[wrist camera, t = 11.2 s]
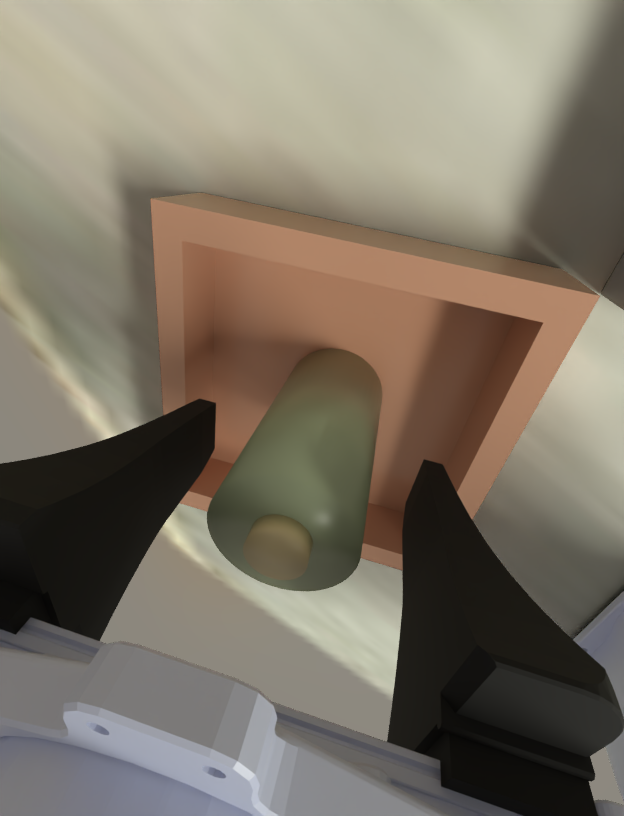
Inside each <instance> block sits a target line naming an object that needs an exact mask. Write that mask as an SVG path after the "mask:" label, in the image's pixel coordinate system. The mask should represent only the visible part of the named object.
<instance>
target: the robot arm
mask: <svg viewBox="0 0 624 816" xmlns="http://www.w3.org/2000/svg"><path fill="white" fill-rule="evenodd" d="M215 425H216V403H215V402H211V401H207V400H204V399H197V400H195V401H193V402H190V403H188V404H186V405H184V406H182V407H180V408H178V409H176V410H174V411H172V412H170V413H168V414H166V415H163V416H161V417H159V418H157V419H155V420H153V421H151V422H148V423H146V424H144V425H141V426H139V427H136V428H134V429H132V430H129V431H127V432H124V433H122V434H119V435H117V436H114V437H111V438H108V439H105V440H102V441H99V442H96V443H93V444H90V445H87V446H83V447H79V448H75V449H71V450H67V451H64V452H60V453H56V454H52V455H48V456H42V457H37V458H32V459H27V460H21V461H15V462H9V463H2V464H0V816H624V805H622V804H619V803H616V802H612V801H608V800H595V801H594V800H593V796H592V792H591V789H590V785H589V781H593V780H594V779H595V773H594V769H593V766H592V762H591V759H590V756H591V755H592V754H594V753H596V752H597V751H599V750H600V749H602V748H604V747H605V748H606V751H607V754H608V757H609V760H610V763H611V767H612V769H613V773H614V776H615V779H616V782H617V785H618V788H619V791H620V793H621V796H622V798H623V801H624V591H623V592H622V593H621V594H620V595H619V596H618V597H617V598H616V599H615V600H614V601H613V602H612V603H610V604H609V605H608V606H607V607H606V608H605V609H604V610H603V611H602V612H601V613H600V614H599V615H598V616H597V617H596V618H595V619H594V620H593V621H592V622H591V623H590V624H589V625H588V626H587V627H586V628H585V629H583V630H582V631H581V632H580V633H579V634H578V635H577V636H576V637H575V638H574V639H573V640H572V639H571V638H570V637H569V636H568V635H567V634H566V633H565V632H564V631H563V630H562V629H561V628H560V627H559V626H558V625H557V624H556V623H555V622H554V621H553V620H552V619H551V618H550V617H549V616H547V615H546V614H545V613H544V611H543V610H542V609H541V608H540V607H539V606H538V605H537V604H536V603H535V602H534V601H533V600H532V599H531V598H530V597H529V595H528V594H527V593H526V592H525V591H524V590H523V589H522V587H521V586H520V585H519V584H518V583H517V582H516V581H515V579H514V578H513V577H512V576H511V574H510V573H509V572H508V571H507V570H506V568H505V567H504V566H503V564H502V563H501V562H500V560H499V559H498V558H497V556H496V555H495V554H494V552H493V551H492V550H491V548H490V547H489V546H488V544H487V543H486V541H485V540H484V538H483V537H482V535H481V533H480V532H479V530H478V529H477V527H476V526H475V524H474V522H473V521H472V519H471V517H470V515H469V514H468V512H467V510H466V508H465V507H464V505H463V503H462V501H461V499H460V497H459V495H458V494H457V492H456V490H455V488H454V486H453V484H452V482H451V480H450V478H449V476H448V474H447V472H446V470H445V468H444V466H443V464H440V463H436V462H433V461H429V460H425V459H424V460H423V462H422V465H421V467H420V469H419V472H418V474H417V477H416V479H415V481H414V484H413V486H412V489H411V491H410V493H409V496H408V498H407V501H406V503H405V511H404V519H403V528H402V561H403V607H402V619H401V630H400V640H399V650H398V660H397V669H396V677H395V686H394V694H393V702H392V710H391V718H390V725H389V732H388V740H387V742H386V741H383V740H380V739H377V738H374V737H371V736H369V735H366V734H363V733H360V732H357V731H354V730H351V729H349V728H346V727H343V726H340V725H337V724H334V723H331V722H329V721H326V720H323V719H320V718H317V717H314V716H311V715H309V714H306V713H303V712H300V711H297V710H294V709H291V708H289V707H286V706H283V705H280V704H277V703H274V702H272V701H271V700H270V699H269V698H268V697H267V696H265V695H264V694H263V693H262V692H261V691H260V690H259V689H257V688H255V687H253V686H251V685H249V684H247V683H245V682H243V681H241V680H239V679H237V678H234V677H231V676H228V675H225V674H222V673H219V672H217V671H214V670H211V669H208V668H205V667H202V666H199V665H196V664H193V663H190V662H188V661H185V660H182V659H179V658H176V657H173V656H170V655H168V654H165V653H162V652H159V651H156V650H153V649H150V648H147V647H145V646H142V645H138V644H133V643H129V642H124V641H118V642H114V643H109V644H106V643H103V642H100V639H101V637H102V635H103V633H104V631H105V629H106V627H107V625H108V623H109V620H110V618H111V616H112V614H113V613H114V611H115V609H116V607H117V605H118V603H119V601H120V599H121V597H122V596H123V594H124V592H125V590H126V588H127V586H128V584H129V582H130V581H131V579H132V577H133V575H134V573H135V572H136V570H137V568H138V566H139V564H140V563H141V561H142V559H143V557H144V556H145V554H146V552H147V550H148V548H149V547H150V545H151V544H152V542H153V540H154V539H155V537H156V535H157V534H158V532H159V530H160V529H161V528H162V526H163V525H164V523H165V522H166V520H167V519H168V517H169V516H170V515H171V513H172V512H173V511H174V509H175V508H176V507H177V505H178V504H179V503H180V501H181V500H182V499H183V497H184V496H185V495H186V493H187V492H188V491H189V489H190V488H191V487H192V485H193V484H194V483H195V481H196V480H197V478H198V477H199V476H200V474H201V473H202V471H203V469H204V468H205V466H206V464H207V462H208V461H209V459H210V457H211V455H212V453H213V451H214V449H215Z"/></svg>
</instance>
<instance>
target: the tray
mask: <svg viewBox="0 0 624 816" xmlns="http://www.w3.org/2000/svg"><path fill="white" fill-rule="evenodd" d="M150 200H151V216H152V233H153V250H154V267H155V284H156V301H157V318H158V335H159V352H160V369H161V385H162V402H163V415H166V414H168V413H170V412H172V411H174V410H176V409H178V408H180V407H182V406H184V405H186V404H188V403H190V402H193V401H195V400H197V399H204V400H207V401H211V402H215V403H216V425H215V449H214V451H213V453H212V455H211V457H210V459H209V461H208V462H207V464H206V466H205V468H204V469H203V471H202V473H201V474H200V476H199V477H198V478H197V480H196V481H195V483H194V484H193V485H192V487H191V488H190V489H189V491H188V492H187V493H186V495H185V496H184V497H183V499H182V500H181V501H180V503H181V504H184V505H188V506H191V507H194V508H198V509H201V510H204V511H207V512H208V507H209V504H210V502H211V500H212V498H213V496H214V495H215V493H216V492H217V490H218V488H219V487H220V485H221V484H222V482H223V480H224V479H225V477H226V476H227V474H228V473H229V471H230V469H231V468H232V466H233V465H234V463H235V461H236V460H237V458H238V457H239V455H240V453H241V452H242V450H243V449H244V447H245V446H246V444H247V442H248V441H249V439H250V438H251V436H252V434H253V433H254V431H255V430H256V428H257V426H258V425H259V423H260V422H261V420H262V418H263V417H264V415H265V414H266V412H267V411H268V409H269V407H270V406H271V404H272V403H273V401H274V399H275V398H276V396H277V395H278V393H279V391H280V390H281V388H282V387H283V385H284V384H285V382H286V380H287V379H288V377H289V376H290V374H291V372H292V371H293V369H294V368H295V366H296V365H297V364H298V362H299V361H300V360H301V359H303V358H304V357H305V356H307V355H308V354H310V353H312V352H315V351H318V350H322V349H331V348H333V349H342V350H346V351H349V352H352V353H354V354H356V355H358V356H360V357H361V358H363V359H364V360H365V361H367V362H368V363H369V364H370V365H371V366H372V367H373V369H374V370H375V372H376V373H377V375H378V377H379V379H380V382H381V386H382V404H381V411H380V419H379V426H378V434H377V441H376V448H375V456H374V463H373V471H372V478H371V486H370V493H369V500H368V508H367V515H366V523H365V530H364V538H363V545H362V552H361V557H360V558H363V559H366V560H370V561H373V562H376V563H379V564H383V565H386V566H389V567H393V568H396V569H399V570H403V561H402V528H403V519H404V511H405V503H406V501H407V498H408V496H409V493H410V491H411V489H412V486H413V484H414V481H415V479H416V477H417V474H418V472H419V469H420V467H421V465H422V462H423V460H424V459H425V460H429V461H433V462H436V463H440V464H443V466H444V468H445V470H446V472H447V474H448V476H449V478H450V480H451V482H452V484H453V486H454V488H455V490H456V492H457V494H458V495H459V497H460V499H461V501H462V503H463V505H464V507H465V508H466V510H467V512H468V514H469V515H470V517H471V519H473V518H474V516H475V514H476V512H477V511H478V509H479V507H480V505H481V504H482V502H483V500H484V498H485V497H486V495H487V493H488V491H489V490H490V488H491V486H492V484H493V483H494V481H495V479H496V477H497V476H498V474H499V472H500V470H501V469H502V467H503V465H504V463H505V462H506V460H507V458H508V456H509V455H510V453H511V451H512V449H513V448H514V446H515V444H516V442H517V441H518V439H519V437H520V435H521V434H522V432H523V430H524V428H525V427H526V425H527V423H528V421H529V420H530V418H531V416H532V414H533V413H534V411H535V409H536V407H537V406H538V404H539V402H540V400H541V399H542V397H543V395H544V393H545V392H546V390H547V388H548V386H549V385H550V383H551V381H552V379H553V378H554V376H555V374H556V372H557V371H558V369H559V367H560V365H561V364H562V362H563V360H564V358H565V357H566V355H567V353H568V351H569V350H570V348H571V346H572V344H573V343H574V341H575V339H576V337H577V336H578V334H579V332H580V330H581V329H582V327H583V325H584V323H585V322H586V320H587V318H588V316H589V315H590V313H591V311H592V309H593V307H594V306H595V304H596V302H597V300H598V299H599V297H600V296H599V295H598V294H597V293H595V292H594V291H592V290H591V289H590V288H588V287H587V286H585V285H584V284H583V283H581V282H580V281H578V280H577V279H576V278H574V277H573V276H571V275H570V274H569V273H567V272H566V271H564V270H563V269H560V268H555V267H550V266H545V265H541V264H536V263H531V262H527V261H522V260H517V259H512V258H508V257H503V256H498V255H493V254H489V253H484V252H479V251H475V250H470V249H465V248H460V247H456V246H451V245H446V244H442V243H437V242H432V241H427V240H423V239H418V238H413V237H409V236H404V235H399V234H394V233H390V232H385V231H380V230H376V229H371V228H366V227H361V226H357V225H352V224H347V223H342V222H338V221H333V220H328V219H324V218H319V217H314V216H309V215H305V214H300V213H295V212H291V211H286V210H281V209H276V208H272V207H267V206H262V205H258V204H253V203H248V202H243V201H239V200H234V199H229V198H225V197H220V196H215V195H210V194H206V193H193V194H184V195H176V196H167V197H159V198H150Z"/></svg>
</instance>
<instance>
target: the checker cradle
mask: <svg viewBox="0 0 624 816" xmlns="http://www.w3.org/2000/svg"><path fill="white" fill-rule="evenodd" d="M601 294H602V295H603V296H604V297H606V298H607V299H609V300H610V301H612V302H613V303H614V304H616V305H617V306H619V307H620V308H622V309H623V310H624V254H623V255H622V257H621V259H620V261H619V262H618V264H617V266H616V268H615V269H614V271H613V273H612V275H611V276H610V278H609V280H608V282H607V283H606V285H605V287H604V289H603V290H602V292H601Z"/></svg>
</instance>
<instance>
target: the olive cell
mask: <svg viewBox="0 0 624 816" xmlns="http://www.w3.org/2000/svg"><path fill="white" fill-rule="evenodd" d="M381 404H382V386H381V382H380V379H379V377H378V375H377V373H376V372H375V370H374V369H373V367H372V366H371V365H370V364H369V363H368V362H367V361H365V360H364V359H363V358H361V357H360V356H358V355H356V354H354V353H352V352H349V351H346V350H342V349H333V348H331V349H322V350H318V351H315V352H312V353H310V354H308V355H307V356H305V357H304V358H303V359H301V360H300V361H299V362H298V364H297V365H296V366H295V368H294V369H293V371H292V372H291V374H290V376H289V377H288V379H287V380H286V382H285V384H284V385H283V387H282V388H281V390H280V391H279V393H278V395H277V396H276V398H275V399H274V401H273V403H272V404H271V406H270V407H269V409H268V411H267V412H266V414H265V415H264V417H263V418H262V420H261V422H260V423H259V425H258V426H257V428H256V430H255V431H254V433H253V434H252V436H251V438H250V439H249V441H248V442H247V444H246V446H245V447H244V449H243V450H242V452H241V453H240V455H239V457H238V458H237V460H236V461H235V463H234V465H233V466H232V468H231V469H230V471H229V473H228V474H227V476H226V477H225V479H224V480H223V482H222V484H221V485H220V487H219V488H218V490H217V492H216V493H215V495H214V496H213V498H212V500H211V502H210V504H209V507H208V512H207V524H208V529H209V532H210V535H211V537H212V539H213V541H214V543H215V545H216V546H217V548H218V549H219V551H220V552H221V553H222V554H223V555H224V556H225V558H226V559H227V560H228V561H230V562H231V563H232V564H233V565H234V566H235V567H237V568H238V569H239V570H241V571H242V572H244V573H245V574H247V575H249V576H250V577H252V578H254V579H256V580H258V581H260V582H263V583H265V584H268V585H271V586H274V587H278V588H281V589H287V590H294V591H316V590H322V589H326V588H329V587H333V586H335V585H337V584H339V583H341V582H343V581H344V580H346V579H347V578H348V577H349V576H350V575H351V574H352V573H353V572H354V570H355V569H356V568H357V566H358V563H359V561H360V557H361V552H362V545H363V538H364V530H365V523H366V515H367V508H368V500H369V493H370V486H371V478H372V471H373V463H374V456H375V448H376V441H377V434H378V426H379V419H380V411H381Z"/></svg>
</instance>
